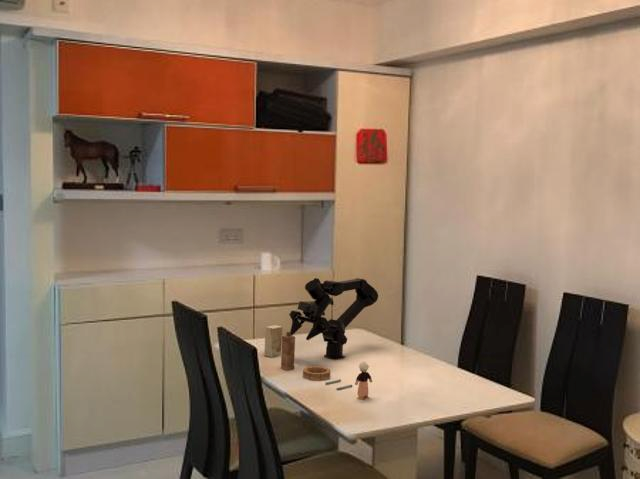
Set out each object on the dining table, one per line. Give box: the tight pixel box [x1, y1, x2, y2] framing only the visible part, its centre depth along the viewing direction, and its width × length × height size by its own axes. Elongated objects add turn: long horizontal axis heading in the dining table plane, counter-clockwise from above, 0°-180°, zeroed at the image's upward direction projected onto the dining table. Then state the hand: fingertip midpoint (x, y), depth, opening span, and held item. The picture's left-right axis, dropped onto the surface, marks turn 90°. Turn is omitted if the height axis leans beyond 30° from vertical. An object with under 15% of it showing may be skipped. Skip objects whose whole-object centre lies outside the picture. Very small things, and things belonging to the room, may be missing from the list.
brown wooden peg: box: [280, 331, 296, 372], centre depth 270 cm, size 4×4×15 cm
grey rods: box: [325, 379, 353, 391], centre depth 252 cm, size 8×8×1 cm
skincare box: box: [263, 324, 283, 358], centre depth 289 cm, size 6×4×12 cm
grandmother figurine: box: [354, 361, 373, 401], centre depth 238 cm, size 8×4×13 cm, turn 141°
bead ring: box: [302, 365, 331, 382], centre depth 262 cm, size 10×10×2 cm
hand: (298, 337), depth 274 cm, fingers open, 9 cm apart
